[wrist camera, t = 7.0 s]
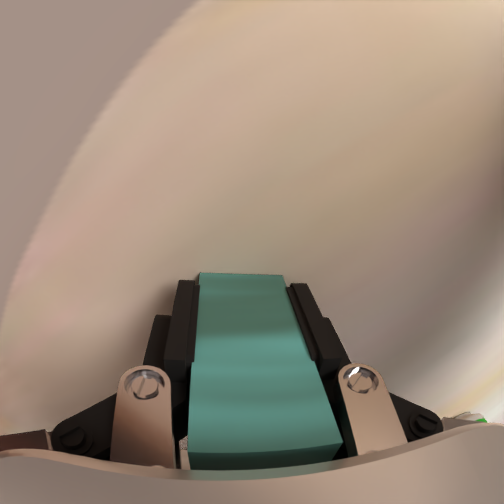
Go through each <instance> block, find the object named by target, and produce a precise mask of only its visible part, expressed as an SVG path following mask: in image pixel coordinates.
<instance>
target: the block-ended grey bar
mask: <svg viewBox="0 0 504 504" xmlns="http://www.w3.org/2000/svg"><path fill="white" fill-rule="evenodd" d="M199 285H200V294H199V306H198V318H197V331H196V345H195V360H194V362H192V368H191V384H190V401H189V421H188V447H187V450H185V449H181V459H182V469H184V470H215V471H224V470H257V469H272V468H283V467H293V466H301V465H309V464H316V463H322V462H328V461H331V460H332V459H333V457H334V456H335V454H336V452H337V451H338V449H339V448H340V446H341V445H342V443H343V441H342V438H341V435H340V432H339V429H338V427H337V424H336V421H335V418H334V415H333V412H332V409H331V407H330V404H329V401H328V398H327V395H326V393H325V390H324V387H323V384H322V381H321V379H320V376H319V373H318V370H317V368H316V365H315V362H314V361H312V360H311V357H310V354H309V351H308V349H307V346H306V343H305V340H304V338H303V335H302V332H301V329H300V326H299V324H298V321H297V318H296V315H295V313H294V310H293V307H292V305H291V302H290V299H289V296H288V294H287V291H286V288H285V287H286V284H285V281H284V279H283V276H282V275H255V274H223V273H200V277H199Z"/></svg>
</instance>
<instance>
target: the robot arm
mask: <svg viewBox="0 0 504 504" xmlns="http://www.w3.org/2000/svg"><path fill="white" fill-rule="evenodd" d="M285 288H286V291H287V294H288V296H289V299H290V302H291V305H292V307H293V310H294V313H295V315H296V318H297V321H298V324H299V326H300V329H301V332H302V335H303V338H304V340H305V343H306V346H307V349H308V351H309V354H310V357H311V360H312V361H314V362H315V365H316V368H317V370H318V373H319V376H320V379H321V381H322V384H323V387H324V390H325V393H326V395H327V398H328V401H329V404H330V407H331V409H332V412H333V415H334V418H335V421H336V424H337V427H338V429H339V432H340V435H341V438H342V441H343V443H342V445H341V446H340V448H339V449H338V451H337V452H336V454H335V456H334V457H333V459H332V460H331V461H328V462H322V463H316V464H309V465H301V466H293V467H283V468H272V469H257V470H224V471H215V470H184V469H182V459H181V446H180V440H181V439H183V438H184V437H185V436H187V435H188V421H189V401H190V384H191V368H192V362H194V360H195V345H196V331H197V318H198V306H199V294H200V285H195V281H193V280H179V282H178V287H177V292H176V297H175V301H174V306H173V311H172V316H169V315H156V316H155V318H154V322H153V326H152V330H151V334H150V337H149V341H148V345H147V349H146V354H145V358H144V362H143V366H136V367H133V368H131V369H129V370H128V371H126V372H125V373H124V374H123V375H122V376H121V378H120V380H119V384H118V390H117V393H116V394H114V395H112V396H110V397H109V398H107V399H105V400H103V401H101V402H99V403H97V404H95V405H93V406H92V407H90V408H88V409H86V410H84V411H82V412H80V413H78V414H76V415H74V416H72V417H70V418H68V419H66V420H64V421H62V422H61V423H59V424H58V425H57V426H56V427H55V428H54V430H53V431H52V432H47V431H46V430H45V429H43V430H37V431H31V432H24V433H17V434H10V435H2V436H0V504H504V424H501V423H486V422H482V421H472V420H463V419H455V418H447V417H443V418H442V419H441V420H440V418H439V417H438V416H437V415H436V414H435V413H433V412H432V411H430V410H428V409H425V408H423V407H421V406H418V405H416V404H414V403H412V402H409V401H407V400H405V399H403V398H400V397H398V396H396V395H394V394H392V393H389V392H388V390H387V388H386V386H385V383H384V381H383V378H382V377H381V375H380V374H379V373H378V372H377V371H376V370H375V369H374V368H372V367H370V366H368V365H364V364H358V363H354V364H351V362H350V360H349V358H348V356H347V354H346V352H345V350H344V348H343V345H342V343H341V341H340V339H339V337H338V335H337V333H336V331H335V329H334V327H333V325H332V323H331V321H330V320H329V318H323V316H322V314H321V312H320V310H319V308H318V306H317V304H316V302H315V300H314V298H313V295H312V293H311V291H310V289H309V287H308V285H307V284H304V283H291V284H290V287H285Z"/></svg>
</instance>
